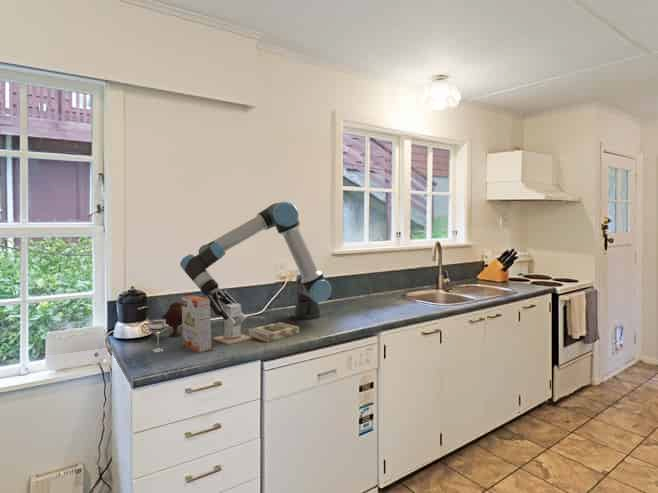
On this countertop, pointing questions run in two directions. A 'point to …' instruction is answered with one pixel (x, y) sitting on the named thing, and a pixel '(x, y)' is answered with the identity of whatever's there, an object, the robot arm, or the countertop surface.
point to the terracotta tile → (232, 341)
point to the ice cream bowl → (174, 318)
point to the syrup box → (235, 313)
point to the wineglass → (157, 330)
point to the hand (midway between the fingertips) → (238, 322)
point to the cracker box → (196, 323)
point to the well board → (273, 331)
